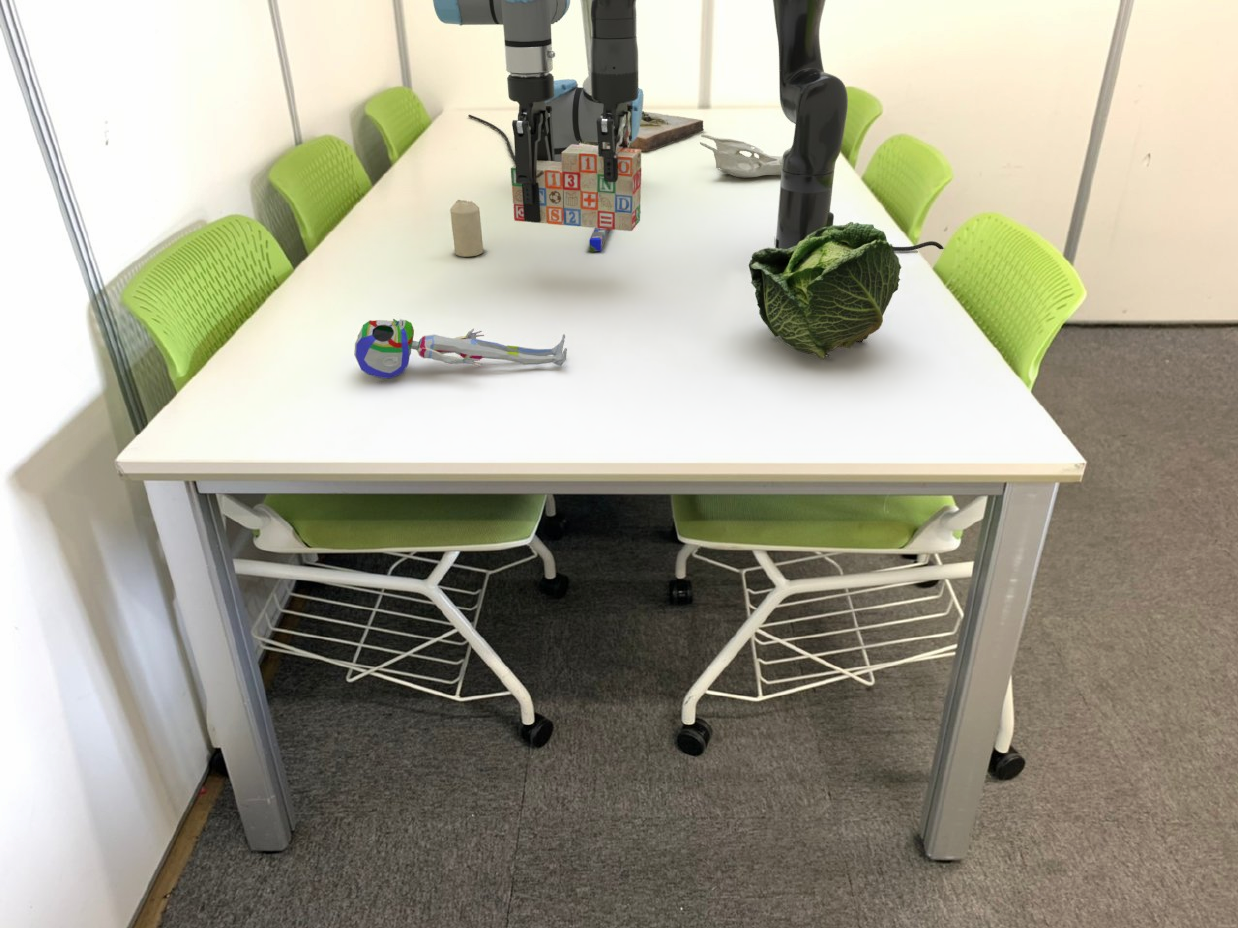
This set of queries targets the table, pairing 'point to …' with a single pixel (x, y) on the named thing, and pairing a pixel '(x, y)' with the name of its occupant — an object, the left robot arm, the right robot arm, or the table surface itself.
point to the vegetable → (826, 287)
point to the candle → (466, 228)
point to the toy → (435, 349)
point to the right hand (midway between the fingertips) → (616, 175)
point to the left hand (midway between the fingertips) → (539, 215)
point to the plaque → (663, 130)
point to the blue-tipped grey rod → (598, 239)
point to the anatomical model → (743, 159)
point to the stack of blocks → (586, 190)
